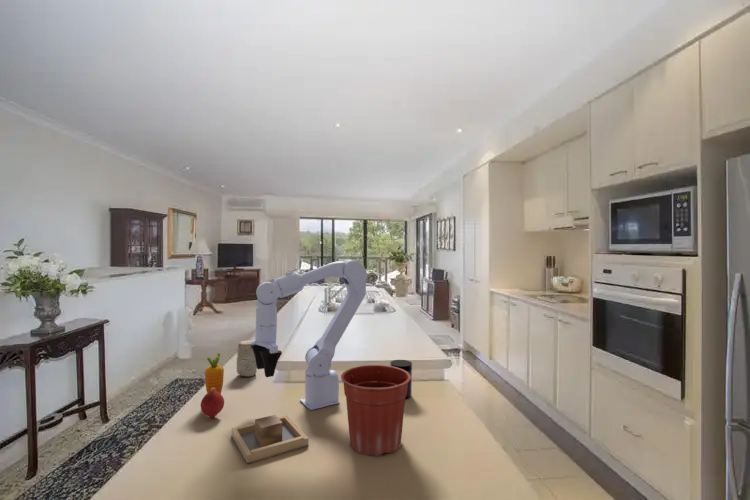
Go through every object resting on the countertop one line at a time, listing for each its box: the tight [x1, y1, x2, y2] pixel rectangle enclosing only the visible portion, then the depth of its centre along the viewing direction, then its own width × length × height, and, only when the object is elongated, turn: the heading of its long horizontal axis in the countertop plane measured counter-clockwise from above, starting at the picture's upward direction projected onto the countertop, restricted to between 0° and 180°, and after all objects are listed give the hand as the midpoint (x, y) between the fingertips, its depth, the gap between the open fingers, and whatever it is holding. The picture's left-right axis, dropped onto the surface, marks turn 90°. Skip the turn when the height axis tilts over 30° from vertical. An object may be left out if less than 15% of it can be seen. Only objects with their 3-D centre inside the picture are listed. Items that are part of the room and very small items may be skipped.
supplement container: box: [389, 359, 413, 401], centre depth 119 cm, size 7×7×10 cm
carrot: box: [204, 352, 225, 395], centre depth 111 cm, size 5×5×15 cm
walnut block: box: [254, 414, 282, 447], centre depth 91 cm, size 5×5×4 cm
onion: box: [200, 388, 225, 419], centre depth 103 cm, size 6×6×8 cm
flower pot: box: [340, 364, 411, 456], centre depth 91 cm, size 16×16×16 cm
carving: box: [236, 339, 258, 377], centre depth 137 cm, size 6×8×12 cm
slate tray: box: [231, 414, 309, 465], centre depth 91 cm, size 14×14×2 cm
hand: (265, 372), depth 109 cm, fingers open, 7 cm apart
